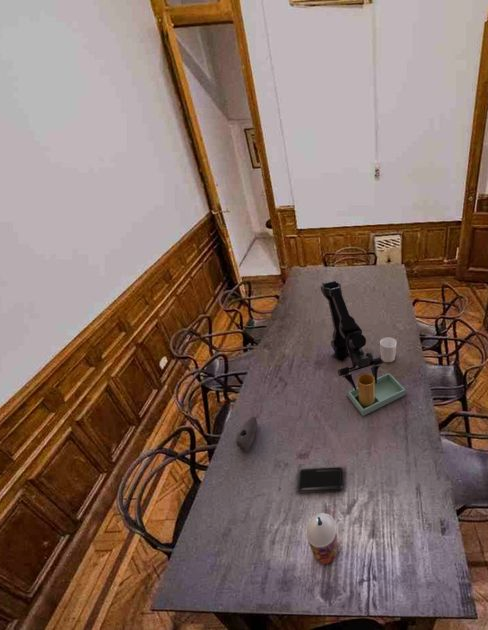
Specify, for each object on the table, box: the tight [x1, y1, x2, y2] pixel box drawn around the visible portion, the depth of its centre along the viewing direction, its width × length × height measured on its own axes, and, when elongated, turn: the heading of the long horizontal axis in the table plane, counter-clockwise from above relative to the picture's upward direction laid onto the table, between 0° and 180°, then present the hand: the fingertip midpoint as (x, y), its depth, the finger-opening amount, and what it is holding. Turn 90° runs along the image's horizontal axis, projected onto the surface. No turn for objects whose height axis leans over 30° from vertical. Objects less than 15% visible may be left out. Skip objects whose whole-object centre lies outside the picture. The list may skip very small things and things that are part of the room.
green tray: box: [347, 372, 406, 417], centre depth 147 cm, size 21×12×4 cm, turn 120°
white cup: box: [379, 336, 397, 363], centre depth 165 cm, size 8×8×10 cm
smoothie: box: [305, 513, 338, 565], centre depth 93 cm, size 8×8×20 cm
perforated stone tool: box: [235, 416, 258, 453], centre depth 130 cm, size 15×5×7 cm, turn 172°
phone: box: [297, 466, 344, 494], centre depth 117 cm, size 8×1×15 cm
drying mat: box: [354, 396, 379, 409], centre depth 145 cm, size 8×8×1 cm
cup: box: [357, 373, 375, 406], centre depth 142 cm, size 7×7×12 cm
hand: (366, 387), depth 141 cm, fingers open, 9 cm apart
